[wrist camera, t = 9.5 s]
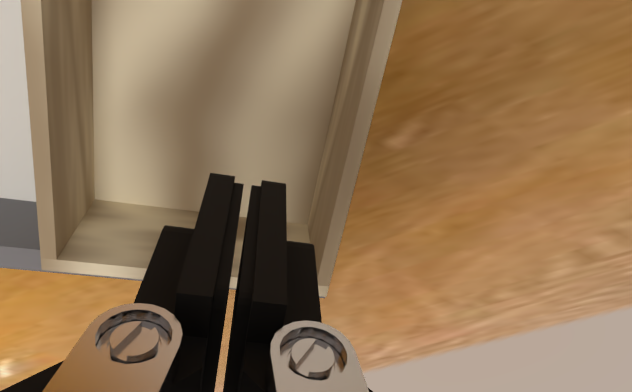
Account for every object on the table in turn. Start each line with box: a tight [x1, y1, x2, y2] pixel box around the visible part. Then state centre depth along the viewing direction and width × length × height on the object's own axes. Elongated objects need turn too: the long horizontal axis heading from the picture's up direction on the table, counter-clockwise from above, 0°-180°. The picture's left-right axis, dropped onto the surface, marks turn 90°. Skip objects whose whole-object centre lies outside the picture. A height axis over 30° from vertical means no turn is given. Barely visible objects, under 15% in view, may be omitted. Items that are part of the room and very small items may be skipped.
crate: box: [21, 0, 402, 297], centre depth 20 cm, size 12×15×6 cm
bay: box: [0, 0, 325, 298], centre depth 21 cm, size 23×18×5 cm
